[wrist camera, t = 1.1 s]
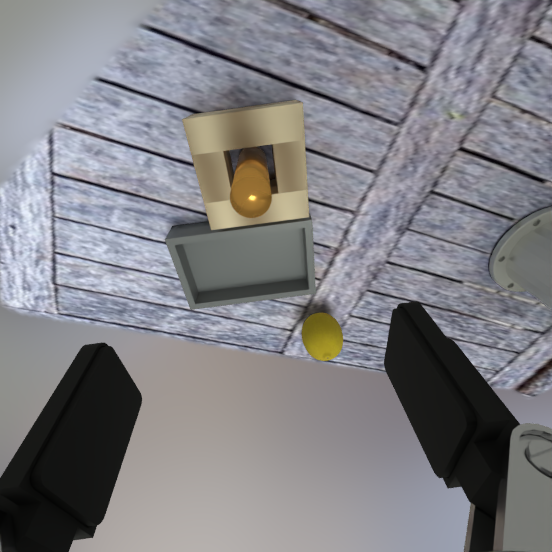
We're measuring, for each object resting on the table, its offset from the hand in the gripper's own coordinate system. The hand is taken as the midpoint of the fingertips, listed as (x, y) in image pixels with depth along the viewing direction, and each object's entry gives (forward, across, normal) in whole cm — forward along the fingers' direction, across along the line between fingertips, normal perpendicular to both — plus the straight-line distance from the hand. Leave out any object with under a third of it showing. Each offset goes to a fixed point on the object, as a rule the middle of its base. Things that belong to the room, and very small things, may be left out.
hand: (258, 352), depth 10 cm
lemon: (+26, -7, +22) cm, 35 cm away
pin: (+26, 0, -1) cm, 26 cm away
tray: (+26, +2, +10) cm, 28 cm away
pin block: (+26, 0, -1) cm, 26 cm away
